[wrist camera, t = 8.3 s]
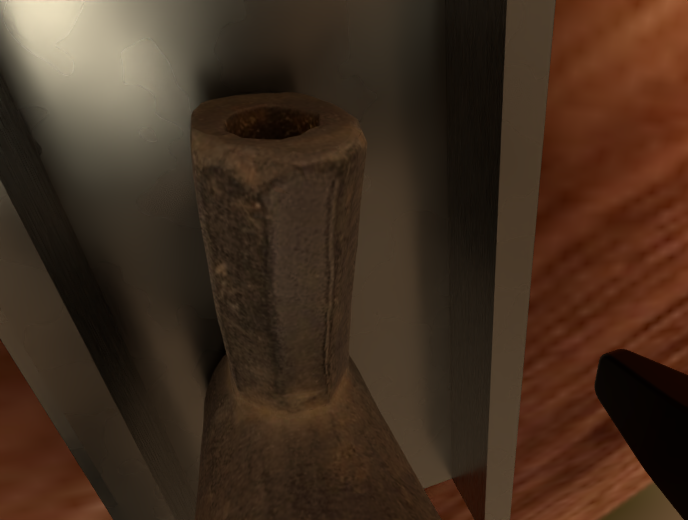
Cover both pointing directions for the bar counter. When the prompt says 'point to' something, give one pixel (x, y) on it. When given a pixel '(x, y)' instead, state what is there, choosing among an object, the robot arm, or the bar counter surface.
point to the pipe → (289, 319)
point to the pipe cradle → (186, 234)
